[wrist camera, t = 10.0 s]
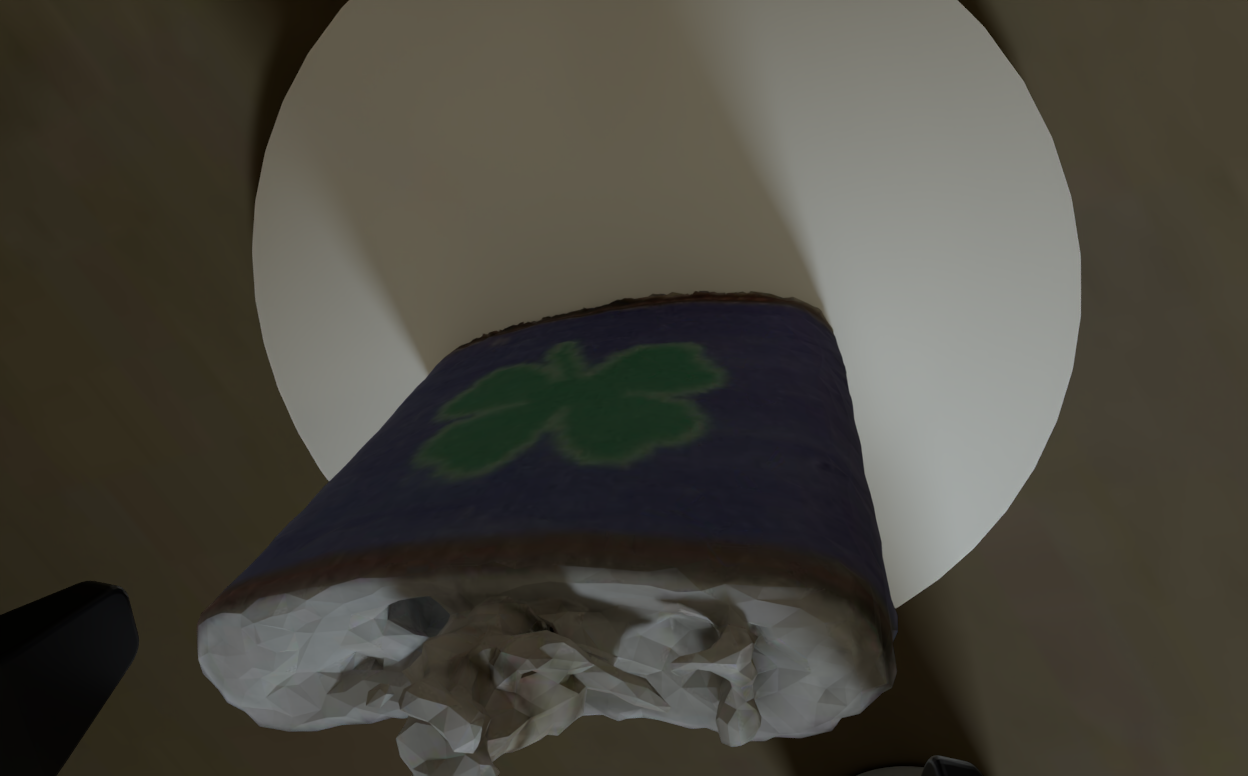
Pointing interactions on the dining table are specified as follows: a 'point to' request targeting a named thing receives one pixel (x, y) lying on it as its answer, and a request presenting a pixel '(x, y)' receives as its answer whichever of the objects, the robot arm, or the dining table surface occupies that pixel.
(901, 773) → the lotion bottle
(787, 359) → the flask
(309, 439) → the plate
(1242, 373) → the dining table surface
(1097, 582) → the dining table surface
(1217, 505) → the dining table surface
